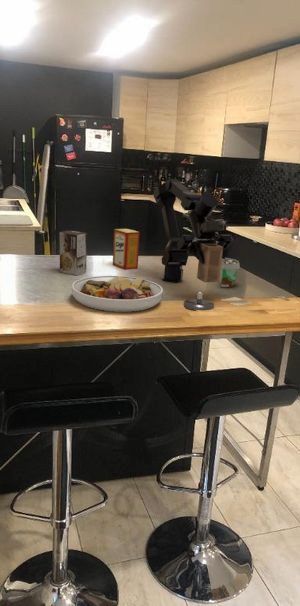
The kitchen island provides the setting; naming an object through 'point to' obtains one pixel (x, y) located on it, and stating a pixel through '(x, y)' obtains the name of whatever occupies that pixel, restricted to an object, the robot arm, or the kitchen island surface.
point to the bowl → (117, 293)
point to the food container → (229, 272)
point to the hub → (198, 303)
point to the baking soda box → (126, 249)
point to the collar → (210, 263)
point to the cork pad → (236, 301)
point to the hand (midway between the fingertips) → (211, 263)
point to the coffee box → (73, 252)
